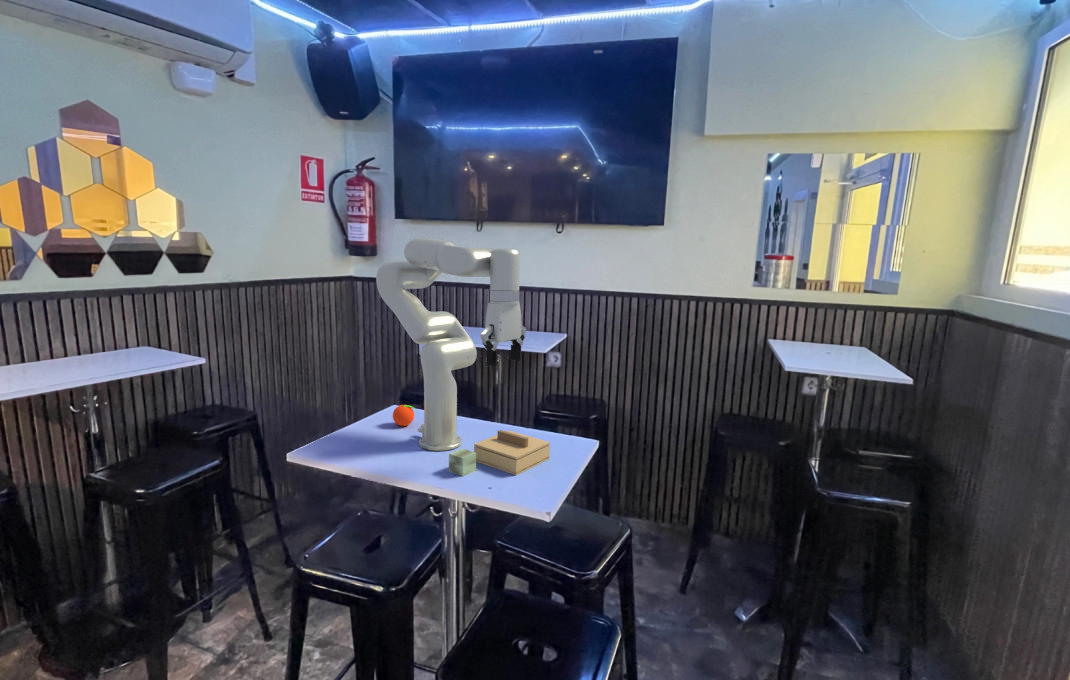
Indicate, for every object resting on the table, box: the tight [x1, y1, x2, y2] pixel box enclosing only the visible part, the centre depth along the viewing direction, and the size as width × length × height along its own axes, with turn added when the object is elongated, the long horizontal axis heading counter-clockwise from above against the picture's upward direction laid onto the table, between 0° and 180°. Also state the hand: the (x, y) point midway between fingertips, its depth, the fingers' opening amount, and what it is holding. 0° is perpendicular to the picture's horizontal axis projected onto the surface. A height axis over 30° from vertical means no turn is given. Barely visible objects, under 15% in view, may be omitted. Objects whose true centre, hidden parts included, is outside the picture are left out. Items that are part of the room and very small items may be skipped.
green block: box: [448, 447, 477, 477], centre depth 137 cm, size 5×5×5 cm
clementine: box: [392, 404, 418, 427], centre depth 171 cm, size 8×7×7 cm
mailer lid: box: [473, 429, 551, 460], centre depth 145 cm, size 15×15×3 cm
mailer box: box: [473, 444, 551, 476], centre depth 146 cm, size 15×15×4 cm
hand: (504, 362), depth 137 cm, fingers open, 9 cm apart
